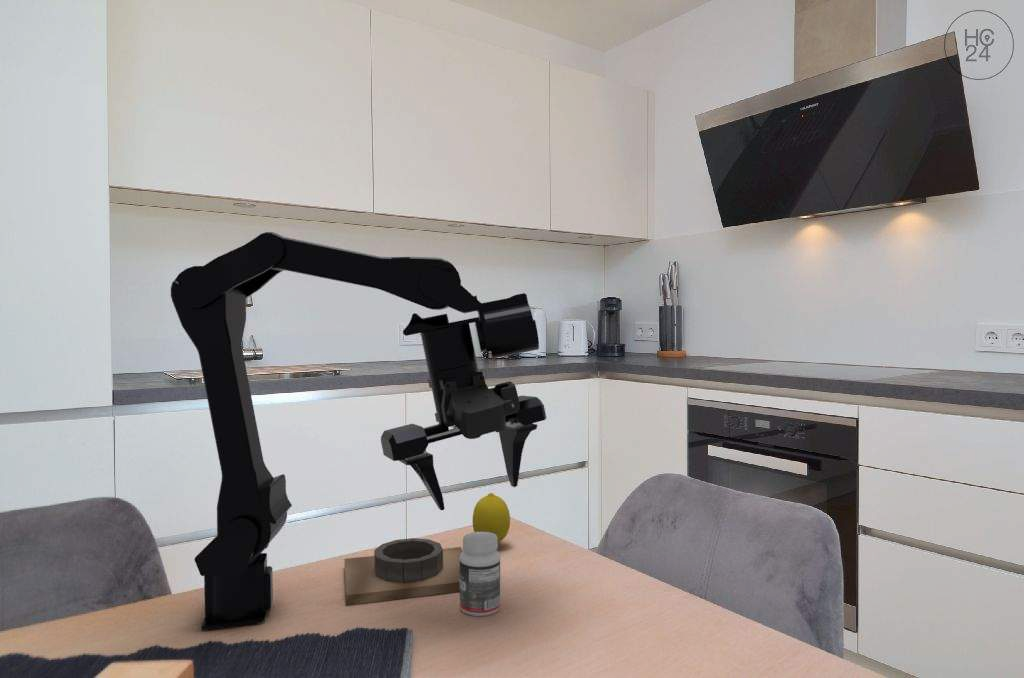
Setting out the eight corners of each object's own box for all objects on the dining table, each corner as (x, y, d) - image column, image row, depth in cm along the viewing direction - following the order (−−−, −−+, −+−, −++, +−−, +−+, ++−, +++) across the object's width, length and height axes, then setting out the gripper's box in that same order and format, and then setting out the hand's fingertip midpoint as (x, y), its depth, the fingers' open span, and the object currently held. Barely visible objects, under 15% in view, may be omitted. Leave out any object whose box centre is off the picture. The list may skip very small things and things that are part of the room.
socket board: (346, 605, 75) (345, 574, 75) (344, 567, 87) (344, 540, 86) (479, 589, 79) (478, 559, 79) (460, 555, 91) (460, 529, 91)
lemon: (509, 553, 91) (509, 498, 91) (471, 553, 91) (470, 498, 91) (510, 540, 97) (510, 488, 97) (474, 540, 97) (473, 488, 97)
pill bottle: (461, 599, 77) (460, 530, 76) (500, 598, 77) (500, 529, 76) (458, 617, 72) (458, 544, 72) (500, 616, 72) (500, 543, 72)
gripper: (389, 387, 63) (421, 540, 63) (554, 349, 70) (581, 486, 71) (368, 384, 73) (395, 516, 74) (514, 351, 80) (537, 471, 81)
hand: (478, 497), depth 75 cm, fingers open, 9 cm apart
